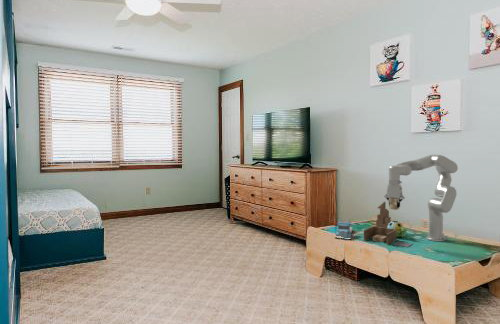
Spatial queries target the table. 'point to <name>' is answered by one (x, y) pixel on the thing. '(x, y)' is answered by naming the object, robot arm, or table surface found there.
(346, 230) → the truck
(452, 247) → the table surface
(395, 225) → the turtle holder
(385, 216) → the wooden toy
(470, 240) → the table surface
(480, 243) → the table surface
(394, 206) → the maple block
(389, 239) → the slot stand
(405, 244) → the mat
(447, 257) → the table surface
